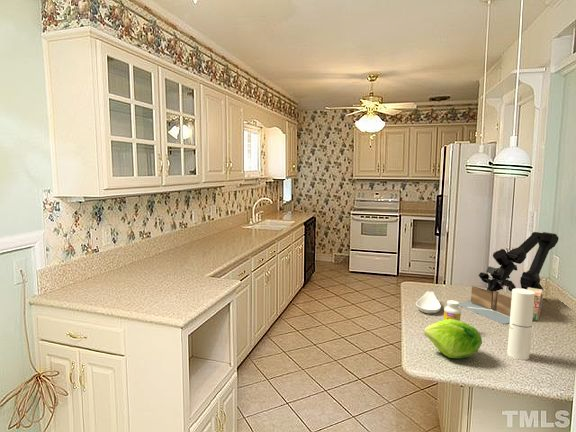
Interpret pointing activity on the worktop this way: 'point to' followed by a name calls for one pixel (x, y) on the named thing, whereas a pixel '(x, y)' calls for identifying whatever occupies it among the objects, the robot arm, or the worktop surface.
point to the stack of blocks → (537, 302)
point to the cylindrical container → (520, 323)
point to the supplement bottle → (452, 310)
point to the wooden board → (482, 297)
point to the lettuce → (454, 338)
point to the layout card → (486, 312)
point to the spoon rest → (428, 303)
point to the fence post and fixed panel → (501, 303)
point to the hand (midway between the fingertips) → (486, 293)
